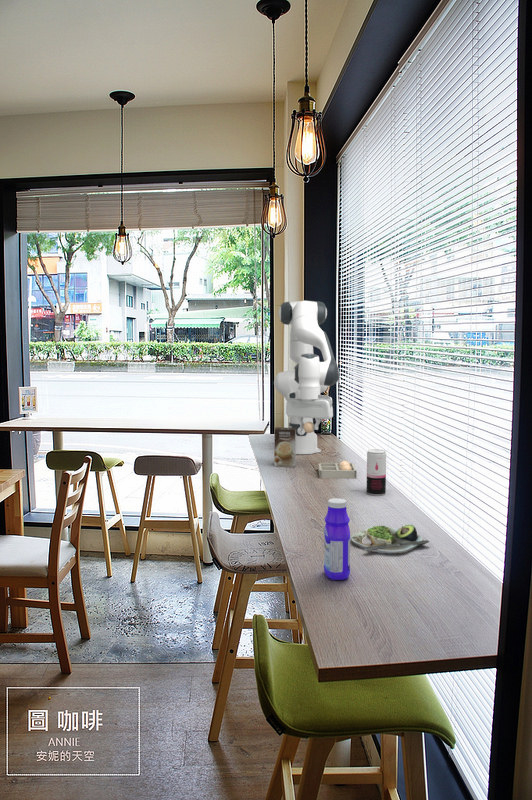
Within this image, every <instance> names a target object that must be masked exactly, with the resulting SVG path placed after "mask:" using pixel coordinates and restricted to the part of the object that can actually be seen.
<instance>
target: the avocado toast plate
mask: <svg viewBox="0 0 532 800" xmlns="http://www.w3.org/2000/svg"><path fill="white" fill-rule="evenodd" d="M367 536H368V537H367ZM364 537H367V538H369V539H370V542H371V544H365V543H362V539H363V538H364ZM350 541H351V542H352V543H353V545H355V546H357V547H358V548H360V549H362V548H363V550H364V551H366V552H371V551H372V553H375V552H378V553H377V554H385V553H393V554H392V555H398V554H397V553H401V554H405V553H407V552H409V550H410V551H412V550H414V548H415V549H417V548H418V547H421V546H424V545H426V544H428V543H429V542H430V540H428V539H426V540H424V538H423V537H422V536H421V535H419V534H418V532H417V529H416V527H415V526H414V525H413V524H405V525H404V526H401V527H400V528H396V527H391V526H387V525H375V526H369V527H368V528H365V529H363V530H362V531H359V532H358V531H357V532H355V533H353V534H352V535H350ZM372 544H373V545H372ZM370 545H372V546H370ZM416 547H417V548H416ZM411 549H412V550H411ZM404 552H405V553H404Z"/></svg>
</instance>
